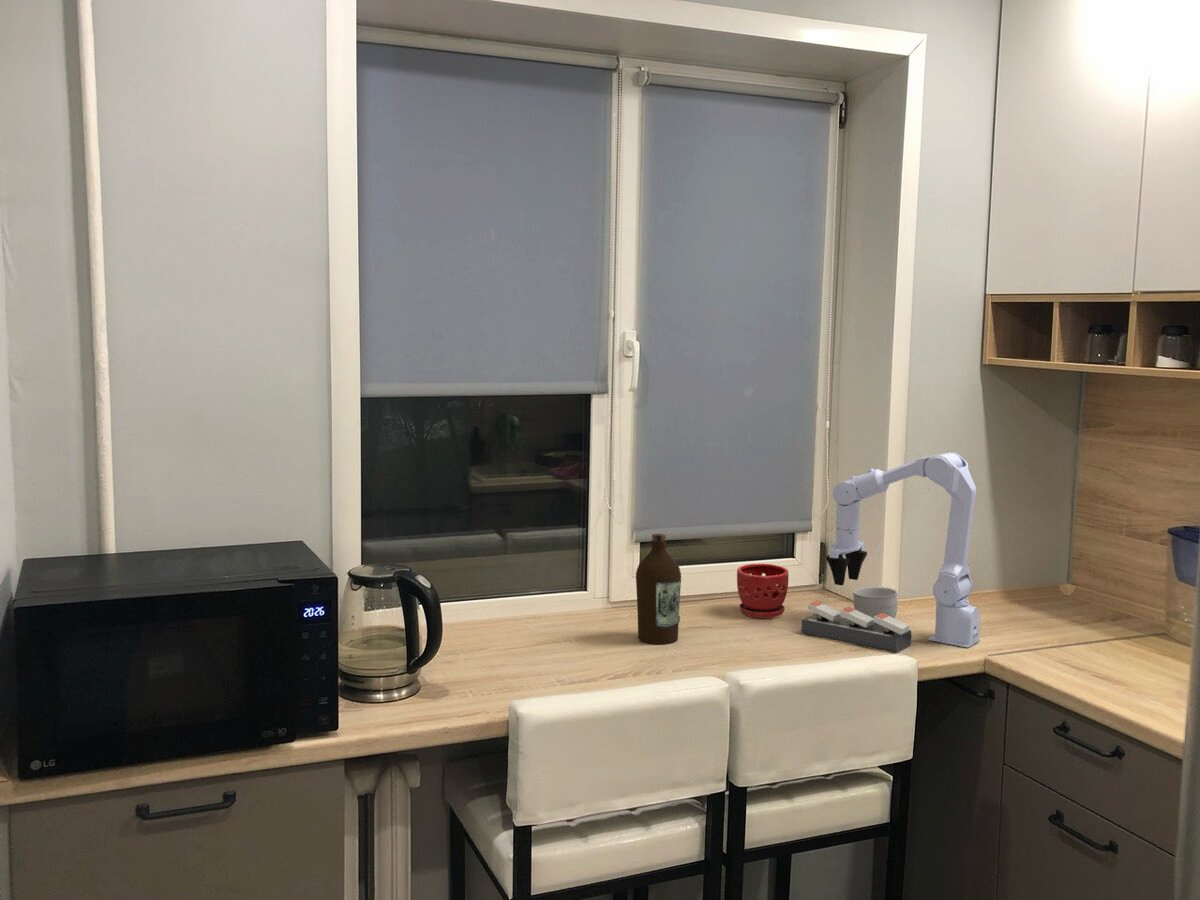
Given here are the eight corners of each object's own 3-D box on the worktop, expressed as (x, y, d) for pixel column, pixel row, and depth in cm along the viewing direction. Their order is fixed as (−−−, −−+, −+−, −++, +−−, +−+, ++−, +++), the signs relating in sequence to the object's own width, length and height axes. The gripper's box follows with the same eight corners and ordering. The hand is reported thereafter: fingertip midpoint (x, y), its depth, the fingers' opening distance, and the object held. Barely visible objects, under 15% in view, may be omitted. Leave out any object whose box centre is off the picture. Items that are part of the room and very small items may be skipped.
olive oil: (626, 637, 241) (627, 533, 238) (662, 630, 247) (663, 528, 244) (653, 648, 232) (654, 540, 229) (689, 640, 238) (690, 535, 235)
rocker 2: (873, 624, 238) (875, 618, 237) (865, 627, 235) (867, 621, 234) (847, 611, 242) (848, 605, 241) (839, 615, 239) (841, 609, 238)
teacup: (887, 630, 247) (888, 598, 246) (845, 622, 253) (846, 591, 252) (907, 617, 258) (908, 587, 257) (867, 611, 264) (868, 581, 263)
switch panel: (910, 645, 234) (911, 625, 234) (896, 653, 228) (896, 632, 228) (817, 626, 250) (818, 607, 249) (801, 633, 244) (801, 614, 243)
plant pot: (726, 611, 264) (727, 566, 263) (768, 605, 270) (769, 561, 268) (754, 623, 252) (755, 576, 251) (798, 617, 258) (799, 571, 257)
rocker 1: (840, 617, 243) (842, 611, 243) (832, 621, 240) (834, 615, 240) (815, 605, 247) (816, 599, 247) (807, 609, 244) (808, 603, 244)
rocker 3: (908, 630, 232) (910, 624, 232) (900, 634, 229) (902, 628, 229) (880, 617, 236) (882, 611, 236) (872, 621, 233) (874, 615, 233)
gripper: (846, 522, 260) (845, 574, 262) (818, 530, 249) (817, 584, 251) (872, 525, 256) (870, 578, 257) (845, 534, 245) (843, 589, 246)
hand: (846, 582), depth 254 cm, fingers open, 7 cm apart
